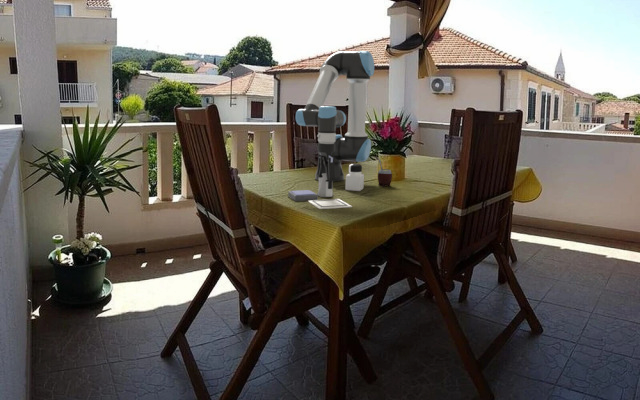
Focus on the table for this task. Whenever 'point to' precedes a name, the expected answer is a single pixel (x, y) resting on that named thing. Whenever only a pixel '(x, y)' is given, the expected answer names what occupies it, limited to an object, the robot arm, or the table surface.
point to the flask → (323, 187)
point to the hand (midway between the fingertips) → (325, 193)
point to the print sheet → (329, 204)
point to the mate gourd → (384, 176)
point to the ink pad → (302, 195)
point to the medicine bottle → (355, 178)
